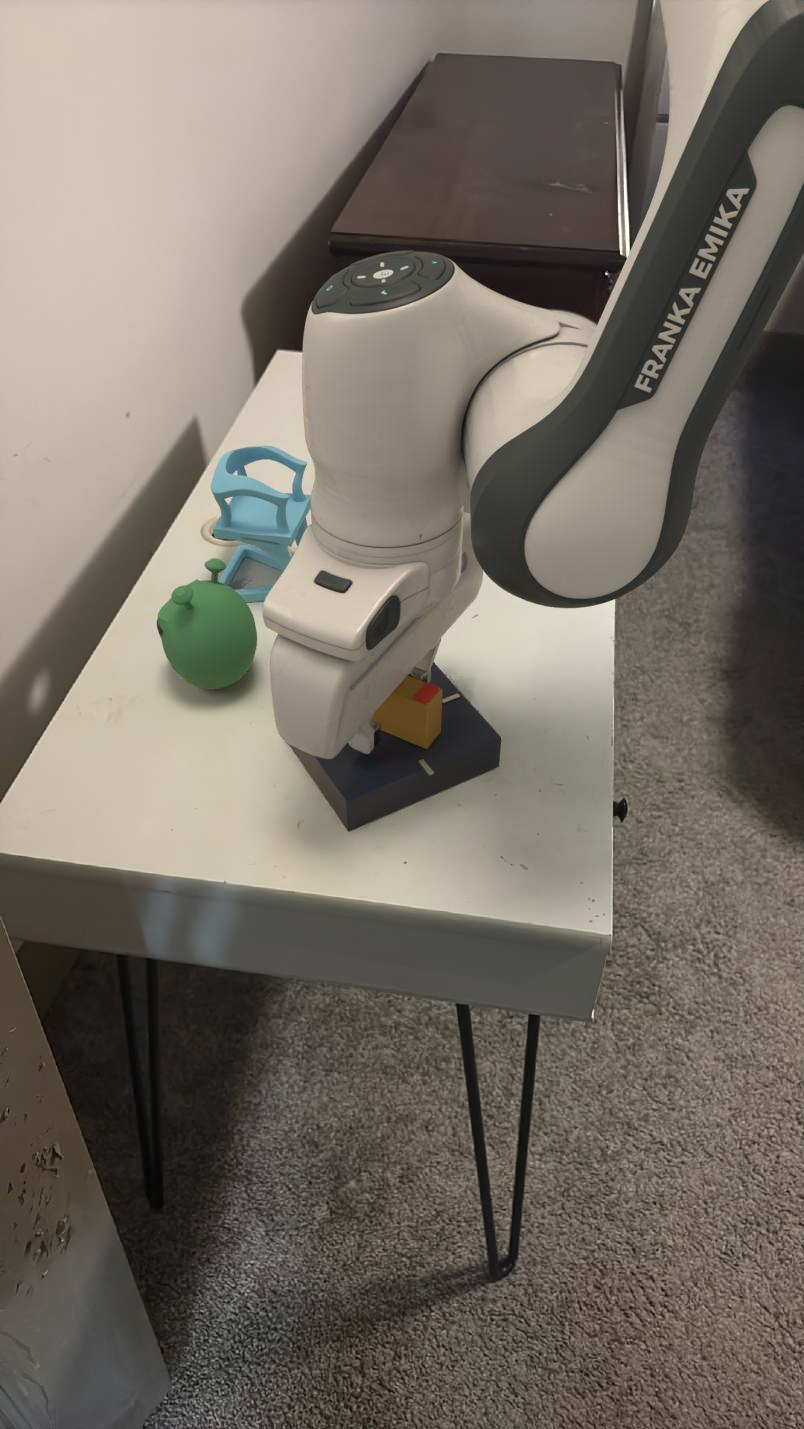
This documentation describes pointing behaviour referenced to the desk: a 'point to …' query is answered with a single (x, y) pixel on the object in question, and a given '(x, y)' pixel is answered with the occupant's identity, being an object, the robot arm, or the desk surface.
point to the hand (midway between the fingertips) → (390, 715)
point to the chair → (258, 513)
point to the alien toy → (208, 631)
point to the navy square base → (407, 763)
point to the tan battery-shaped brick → (412, 712)
